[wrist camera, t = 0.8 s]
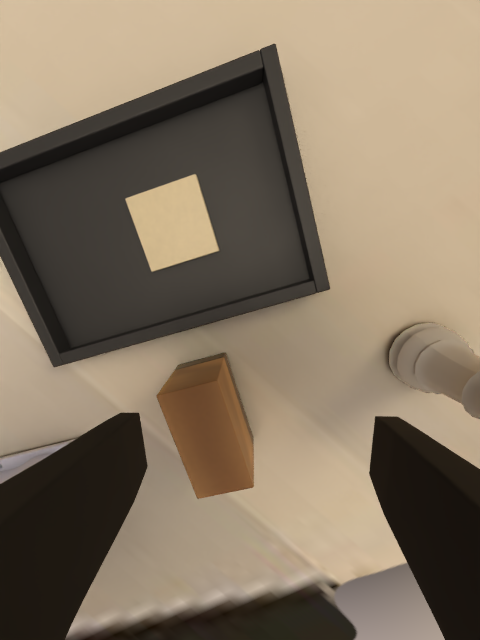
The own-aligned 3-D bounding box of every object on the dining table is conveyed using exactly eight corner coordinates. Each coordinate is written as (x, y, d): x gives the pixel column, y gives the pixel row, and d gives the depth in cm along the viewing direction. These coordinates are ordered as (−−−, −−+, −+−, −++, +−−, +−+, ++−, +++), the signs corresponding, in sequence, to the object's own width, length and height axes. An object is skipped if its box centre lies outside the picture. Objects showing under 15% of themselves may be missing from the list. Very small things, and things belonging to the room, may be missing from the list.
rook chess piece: (372, 347, 17) (468, 416, 10) (431, 307, 17) (587, 347, 9) (407, 394, 18) (523, 495, 10) (465, 358, 17) (639, 436, 10)
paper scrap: (153, 271, 17) (151, 271, 16) (127, 200, 16) (124, 198, 15) (219, 251, 16) (219, 250, 16) (196, 175, 15) (195, 173, 15)
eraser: (209, 448, 20) (197, 499, 16) (178, 364, 18) (155, 396, 14) (253, 438, 20) (253, 487, 15) (225, 351, 18) (217, 380, 14)
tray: (70, 358, 19) (53, 367, 17) (-13, 177, 16) (-43, 168, 15) (322, 286, 17) (330, 289, 15) (272, 68, 14) (275, 42, 13)
